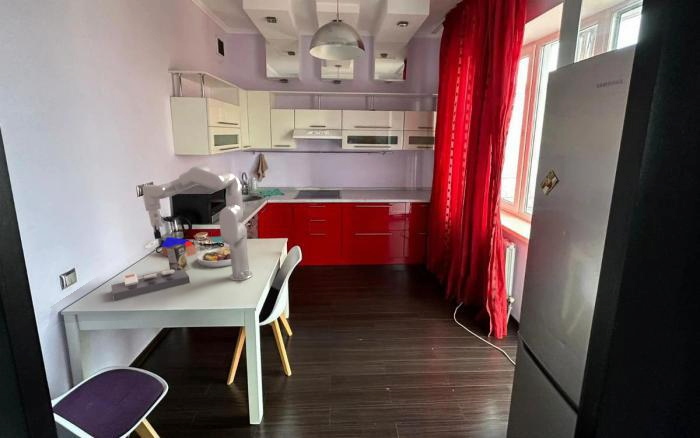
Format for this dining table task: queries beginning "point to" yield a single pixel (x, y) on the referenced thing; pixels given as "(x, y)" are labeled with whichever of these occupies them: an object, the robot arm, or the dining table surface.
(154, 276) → the rocker middle
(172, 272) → the rocker right
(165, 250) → the house
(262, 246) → the dining table surface
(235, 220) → the robot arm
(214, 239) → the cutlery set
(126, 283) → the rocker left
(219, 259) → the bowl
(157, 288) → the grey switch panel
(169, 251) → the coffee box
